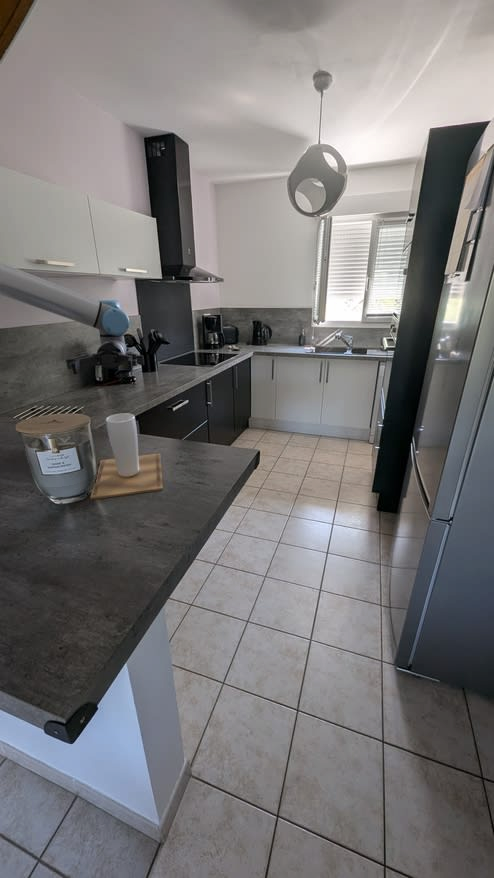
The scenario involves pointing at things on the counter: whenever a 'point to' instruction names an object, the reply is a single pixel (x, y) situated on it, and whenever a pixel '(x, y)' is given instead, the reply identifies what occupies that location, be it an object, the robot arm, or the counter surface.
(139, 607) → the counter surface
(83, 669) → the counter surface
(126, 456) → the drinking glass
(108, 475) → the wooden cutting board
